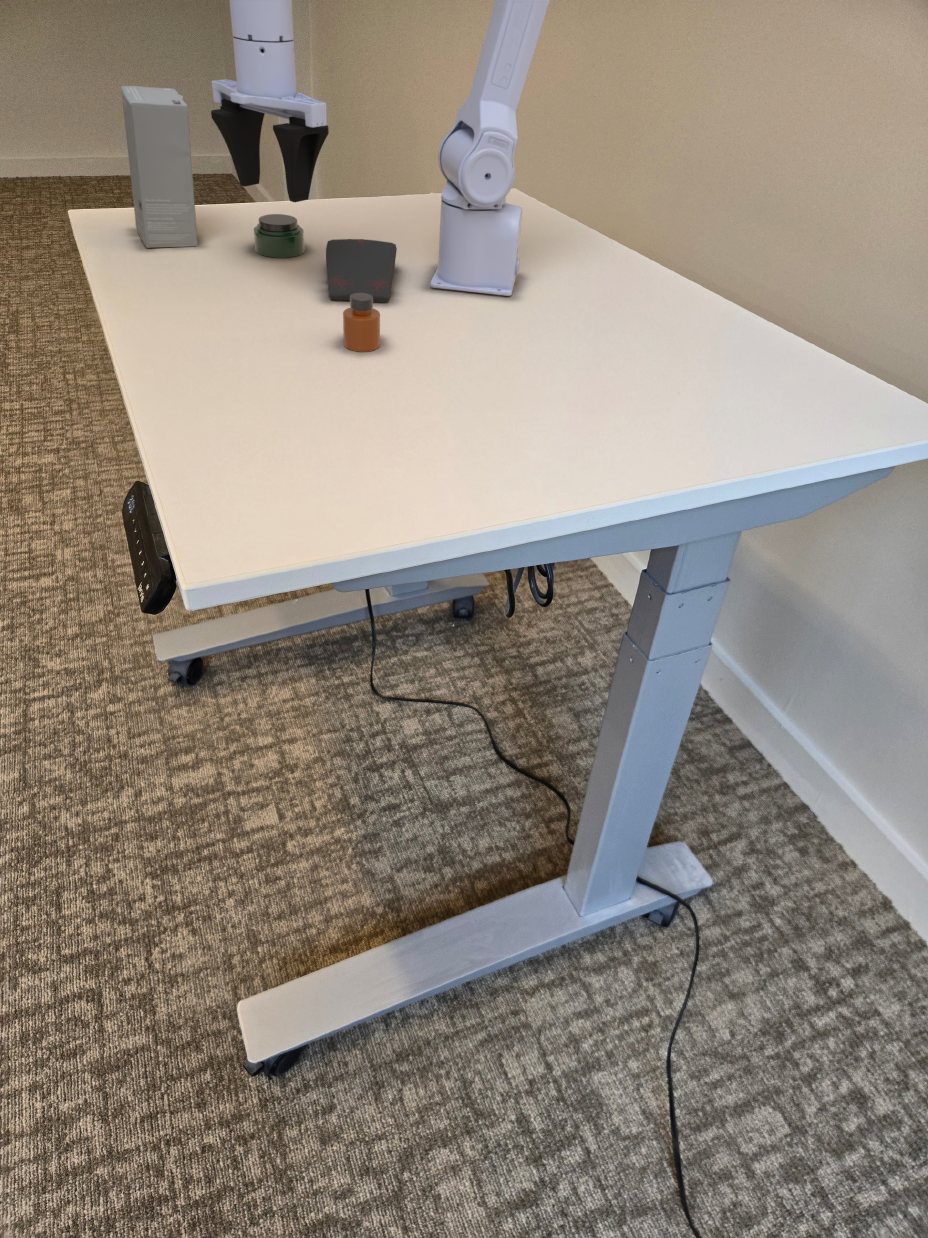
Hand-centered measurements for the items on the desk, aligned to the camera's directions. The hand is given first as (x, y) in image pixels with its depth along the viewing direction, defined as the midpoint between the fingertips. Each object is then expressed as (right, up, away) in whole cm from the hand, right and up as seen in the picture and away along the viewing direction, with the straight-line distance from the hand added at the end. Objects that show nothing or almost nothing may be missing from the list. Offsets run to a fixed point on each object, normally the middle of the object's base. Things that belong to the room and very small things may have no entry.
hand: (274, 192), depth 91 cm
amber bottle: (+10, -18, -5) cm, 21 cm away
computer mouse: (+8, -6, +9) cm, 14 cm away
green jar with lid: (-3, +1, +16) cm, 16 cm away
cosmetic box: (-17, +2, +17) cm, 24 cm away
